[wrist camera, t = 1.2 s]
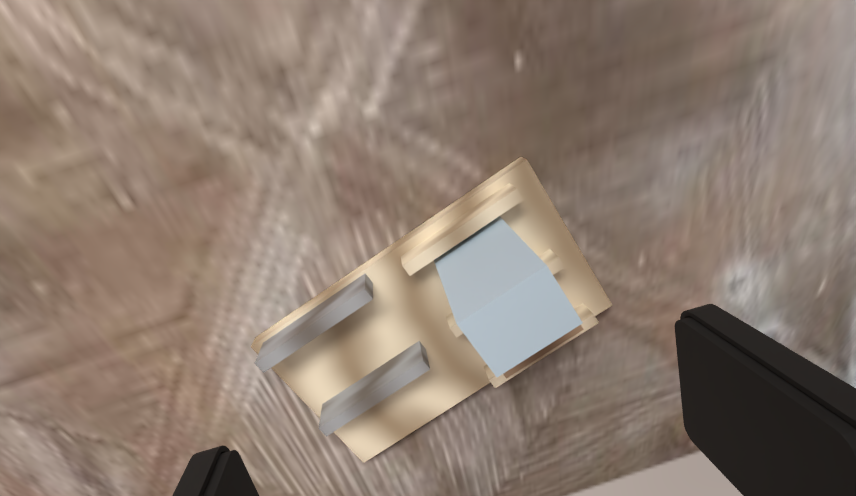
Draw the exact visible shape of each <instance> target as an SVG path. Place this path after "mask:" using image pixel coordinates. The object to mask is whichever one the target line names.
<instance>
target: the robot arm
mask: <svg viewBox="0 0 856 496" xmlns="http://www.w3.org/2000/svg"><path fill="white" fill-rule="evenodd" d="M675 335H676V345H677V356H678V367H679V377H680V388H681V399H682V409H683V420H684V427H685V429H686V432H687V434H688V436H689V437H690V439H691V440H692V442H693V443H694V444H695V445H696V446H697V447H698V448H699V449H700V450H701V451H702V452H703V453H704V454H705V455H706V457H707V458H709V460H710V461H711V462H712V463H713V464H714V465H715V466H716V467H717V468H718V469H719V470H720V471H721V472H722V473H723V474H724V476H726V478H727V479H728V480H729V481H730V482H731V483H732V484H733V485H734V486H735V487H736V488H737V489H738V490H739V491H740V492H741V494H742V495H744V496H856V388H854V387H852V386H851V385H849V384H847V383H846V382H844V381H842V380H840V379H839V378H837V377H835V376H834V375H832V374H830V373H829V372H827V371H825V370H824V369H822V368H820V367H819V366H817V365H815V364H814V363H812V362H810V361H808V360H807V359H805V358H803V357H802V356H800V355H798V354H797V353H795V352H793V351H792V350H790V349H788V348H787V347H785V346H783V345H782V344H780V343H778V342H776V341H775V340H773V339H771V338H770V337H768V336H766V335H765V334H763V333H761V332H760V331H758V330H756V329H755V328H753V327H751V326H750V325H748V324H746V323H744V322H743V321H741V320H739V319H738V318H736V317H734V316H733V315H731V314H729V313H728V312H726V311H724V310H723V309H721V308H719V307H718V306H716V305H713V304H707V305H704V306H700V307H697V308H694V309H690V310H687V311H684V312H683V313H682V314H681V317H680V320H678V321H677V322H676V323H675ZM173 496H259V495H258V492H257V490H256V488H255V486H254V484H253V482H252V480H251V478H250V475H249V473H248V471H247V469H246V467H245V465H244V463H243V461H242V459H241V456H240V455H239V453H238V452H237V451H236V450H232V451H230V450H229V449H228V448H227V447H226V446H219V447H216V448H213V449H209V450H206V451H202V452H199V453H196V454H194V455H193V456H192V458H191V459H190V461H189V463H188V465H187V467H186V469H185V471H184V473H183V475H182V477H181V479H180V481H179V483H178V486H177V488H176V490H175V492H174V494H173Z"/></svg>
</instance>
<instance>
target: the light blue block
mask: <svg viewBox="0 0 856 496" xmlns="http://www.w3.org/2000/svg"><path fill="white" fill-rule="evenodd" d="M434 262H435V265H436V268H437V271H438V273H439V276H440V279H441V282H442V285H443V287H444V290H445V293H446V296H447V299H448V301H449V304H450V307H451V310H452V313H453V315H454V318H455V321H456V324H457V325H458V327H459V328H460V329H461V331H462V332H463V333H464V335H465V336H466V337H467V339H468V340H469V341H470V343H471V344H472V345H473V347H474V348H475V349H476V351H477V352H478V353H479V355H480V356H481V357H482V359H483V360H484V361H485V363H486V364H487V365H488V367H489V368H490V369H491V370H492V372H493V373H494V374H495V376H496V377H499V376H500V375H502V374H503V373H505V372H507V371H508V370H510V369H511V368H513V367H515V366H516V365H518V364H519V363H521V362H522V361H524V360H526V359H527V358H529V357H530V356H532V355H533V354H535V353H537V352H538V351H540V350H541V349H543V348H544V347H546V346H548V345H549V344H551V343H552V342H554V341H556V340H557V339H559V338H560V337H562V336H563V335H565V334H567V333H568V332H570V331H571V330H573V329H574V328H576V327H578V326H579V325H581V324H582V323H583V322H582V321H581V319H580V318H579V316H578V314H577V313H576V311H575V310H574V308H573V306H572V305H571V303H570V302H569V300H568V298H567V297H566V295H565V294H564V292H563V290H562V289H561V287H560V286H559V284H558V282H557V281H556V279H555V278H554V276H553V274H552V273H551V271H550V270H549V268H548V266H547V265H546V264H545V263H544V262H543V261H542V260H541V259H540V258H539V257H538V256H537V255H536V254H535V253H534V251H533V250H532V249H531V248H530V247H529V246H528V245H527V244H526V243H525V242H524V241H523V240H522V239H521V238H520V237H519V236H518V235H517V234H516V233H515V232H514V231H513V230H512V229H511V228H510V227H509V225H508V224H507V223H506V222H505V221H504V220H503V219H502V218H501V217H500V216H499V217H497V218H496V219H494V220H493V221H491V222H490V223H488V224H487V225H485V226H484V227H482V228H481V229H479V230H478V231H476V232H475V233H473V234H472V235H470V236H469V237H467V238H466V239H465V240H463V241H462V242H460V243H459V244H457V245H456V246H454V247H453V248H451V249H450V250H448V251H447V252H445V253H444V254H442V255H441V256H439V257H438V258H436V259H435V260H434Z"/></svg>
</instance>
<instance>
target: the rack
mask: <svg viewBox="0 0 856 496" xmlns="http://www.w3.org/2000/svg"><path fill="white" fill-rule="evenodd" d="M499 216H500V217H501V218H502V219H503V220H504V221H505V222H506V223H507V224H508V225H509V227H510V228H511V229H512V230H513V231H514V232H515V233H516V234H517V235H518V236H519V237H520V238H521V239H522V240H523V241H524V242H525V243H526V244H527V245H528V246H529V247H530V248H531V249H532V250H533V251H534V253H535V254H536V255H537V256H538V257H539V258H540V259H541V260H542V261H543V262H544V263H545V264H546V265H547V266H548V268H549V270H550V271H551V273H552V274H553V276H554V278H555V279H556V281H557V282H558V284H559V286H560V287H561V289H562V290H563V292H564V294H565V295H566V297H567V298H568V300H569V302H570V303H571V305H572V306H573V308H574V310H575V311H576V313H577V314H578V316H579V318H580V319H581V321H582V322H583V323H582V324H581V326H582V328H583V329H584V330H582V331H581V332H579V333H578V334H576V335H575V336H573V337H571V338H570V339H568V340H567V341H565V342H563V343H562V344H560V345H559V346H557V347H556V348H554V349H552V350H551V351H549V352H548V353H546V354H544V355H543V356H541V357H540V358H538V359H537V360H535V361H533V362H532V363H530V364H529V365H527V366H526V367H524V368H522V369H521V370H519V371H518V372H516V373H514V374H513V375H511V376H510V377H508V378H507V379H506V377H505V376H504V375H503V374H502V375H500V376H499V377H496V376H495V374H494V373H493V372H492V370H491V369H490V368H489V367H488V365H487V364H486V363H485V361H484V360H483V359H482V357H481V356H480V355H479V353H478V352H477V351H476V349H475V348H474V347H473V345H472V344H471V343H470V341H469V340H468V339H467V337H466V336H465V335H464V333H463V332H462V331H461V329H460V328H459V327H458V325H457V324H456V321H455V318H454V315H453V313H452V310H451V307H450V304H449V301H448V299H447V296H446V293H445V290H444V287H443V285H442V282H441V279H440V276H439V273H438V271H437V268H436V265H435V262H434V260H435V259H436V258H438V257H439V256H441V255H442V254H444V253H445V252H447V251H448V250H450V249H451V248H453V247H454V246H456V245H457V244H459V243H460V242H462V241H463V240H465V239H466V238H467V237H469V236H470V235H472V234H473V233H475V232H476V231H478V230H479V229H481V228H482V227H484V226H485V225H487V224H488V223H490V222H491V221H493V220H494V219H496V218H497V217H499ZM610 306H612V304H611V302H610V300H609V299H608V297H607V295H606V293H605V292H604V290H603V288H602V287H601V285H600V283H599V282H598V280H597V278H596V276H595V275H594V273H593V271H592V270H591V268H590V266H589V265H588V263H587V261H586V259H585V258H584V256H583V254H582V253H581V251H580V249H579V248H578V246H577V244H576V242H575V241H574V239H573V237H572V236H571V234H570V232H569V230H568V229H567V227H566V225H565V224H564V222H563V220H562V219H561V217H560V215H559V213H558V212H557V210H556V208H555V207H554V205H553V203H552V202H551V200H550V198H549V196H548V195H547V193H546V191H545V190H544V188H543V186H542V184H541V183H540V181H539V179H538V178H537V176H536V174H535V173H534V171H533V169H532V167H531V166H530V164H529V162H528V161H527V159H525V158H523V157H520V158H518V159H517V160H515V161H514V162H512V163H511V164H509V165H508V166H506V167H505V168H503V169H502V170H500V171H499V172H498V173H496V174H495V175H493V176H492V177H490V178H489V179H487V180H486V181H484V182H483V183H481V184H480V185H478V186H477V187H476V188H474V189H473V190H471V191H470V192H468V193H467V194H465V195H464V196H462V197H461V198H459V199H458V200H456V201H455V202H454V203H452V204H451V205H449V206H448V207H446V208H445V209H443V210H442V211H440V212H439V213H437V214H436V215H434V216H433V217H432V218H430V219H429V220H427V221H426V222H424V223H423V224H421V225H420V226H418V227H417V228H415V229H414V230H412V231H411V232H410V233H408V234H407V235H405V236H404V237H402V238H401V239H399V240H398V241H396V242H395V243H393V244H392V245H390V246H389V247H388V248H386V249H385V250H383V251H382V252H380V253H379V254H377V255H376V256H374V257H373V258H371V259H370V260H368V261H367V262H366V263H364V264H363V265H361V266H360V267H358V268H357V269H355V270H354V271H352V272H351V273H349V274H348V275H346V276H345V277H344V278H342V279H341V280H339V281H338V282H336V283H335V284H333V285H332V286H330V287H329V288H327V289H326V290H324V291H323V292H322V293H320V294H319V295H317V296H316V297H314V298H313V299H311V300H310V301H308V302H307V303H305V304H304V305H302V306H301V307H300V308H298V309H297V310H295V311H294V312H292V313H291V314H289V315H288V316H286V317H285V318H283V319H282V320H280V321H279V322H278V323H276V324H275V325H273V326H272V327H270V328H269V329H267V330H266V331H264V332H263V333H261V334H260V335H258V336H257V337H256V338H255V339H254V342H253V344H252V346H251V348H252V349H253V350H254V351H255V352H256V353H257V354H258V356H257V359H256V361H255V364H256V365H257V366H258V367H259V369H260V370H261V371H262V372H263V373H264V372H265V371H267V370H268V369H270V368H272V369H273V370H274V371H275V372H276V373H277V374H278V375H279V376H280V378H281V379H282V380H283V381H284V382H285V383H286V384H287V385H288V386H289V387H290V388H291V389H292V390H293V391H294V392H295V393H296V394H297V395H298V396H299V397H300V398H301V399H302V400H303V401H304V402H305V403H306V404H307V405H308V406H309V407H310V408H311V409H312V410H313V411H314V412H315V413H316V414H317V415H318V416H319V418H320V422H319V429H320V430H321V431H322V432H323V433H324V434H325V435H326V436H328V435H329V434H331V433H333V432H334V433H335V434H336V435H337V436H338V437H339V438H340V439H341V440H342V441H343V442H344V443H345V444H346V445H347V446H348V447H349V448H350V449H351V450H352V451H353V452H354V453H355V454H356V455H357V457H358V458H359V459H360V460H361V461H362V462H363V463H364V462H366V461H367V460H369V459H371V458H372V457H374V456H375V455H377V454H378V453H380V452H382V451H383V450H385V449H386V448H388V447H390V446H391V445H393V444H394V443H396V442H397V441H399V440H401V439H402V438H404V437H405V436H407V435H408V434H410V433H412V432H413V431H415V430H416V429H418V428H419V427H421V426H423V425H424V424H426V423H427V422H429V421H431V420H432V419H434V418H435V417H437V416H438V415H440V414H442V413H443V412H445V411H446V410H448V409H449V408H451V407H453V406H454V405H456V404H457V403H459V402H460V401H462V400H464V399H465V398H467V397H468V396H470V395H472V394H473V393H475V392H476V391H478V390H479V389H481V388H483V387H484V386H486V385H487V384H489V383H490V382H491V383H492V385H493V386H494V387H495V388H497V387H498V386H500V385H501V384H503V383H505V382H506V381H508V380H509V379H511V378H512V377H514V376H516V375H517V374H519V373H520V372H522V371H523V370H525V369H527V368H528V367H530V366H531V365H533V364H535V363H536V362H538V361H539V360H541V359H542V358H544V357H546V356H547V355H549V354H550V353H552V352H554V351H555V350H557V349H558V348H560V347H561V346H563V345H565V344H566V343H568V342H569V341H571V340H573V339H574V338H576V337H577V336H579V335H580V334H582V333H584V332H585V331H587V330H588V329H590V328H592V327H593V326H595V325H596V324H598V323H599V322H598V321H597V319H596V317H595V316H596V315H598V314H599V313H601V312H602V311H604V310H606V309H607V308H609V307H610Z"/></svg>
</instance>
